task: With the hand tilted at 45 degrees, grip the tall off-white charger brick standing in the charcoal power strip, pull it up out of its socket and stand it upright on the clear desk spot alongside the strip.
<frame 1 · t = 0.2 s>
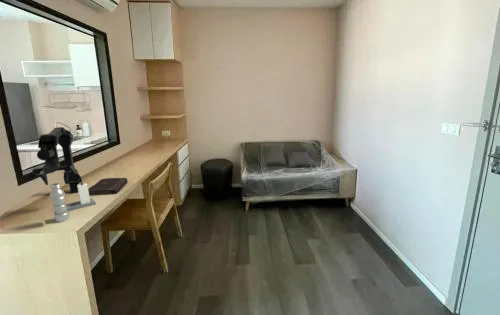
hand: (56, 184, 154), 14 cm above the table, tool pointing down, fingers open, 9 cm apart
plastic bottle: (62, 221, 140), on the table
charger: (85, 204, 159), point 1 cm above the table, touching power strip
diary: (108, 190, 186), on the table
power strip: (78, 207, 157), on the table
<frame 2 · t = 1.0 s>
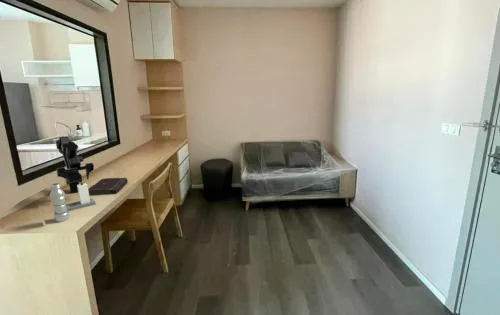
hand: (79, 181, 161), 13 cm above the table, tool tilted 45°, fingers open, 9 cm apart
nothing on the table moved.
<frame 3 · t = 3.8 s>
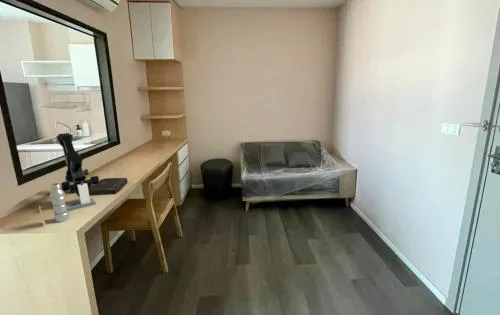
hand: (84, 195, 156), 7 cm above the table, tool tilted 45°, fingers closed on charger, 4 cm apart
charger: (85, 204, 159), point 1 cm above the table, touching gripper, power strip
everything else where it was.
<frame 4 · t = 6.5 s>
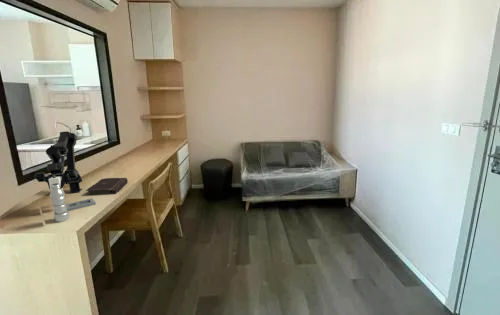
hand: (55, 189, 148), 13 cm above the table, tool tilted 45°, fingers closed on charger, 4 cm apart
charger: (58, 198, 151), point 7 cm above the table, touching gripper
everything else where it was.
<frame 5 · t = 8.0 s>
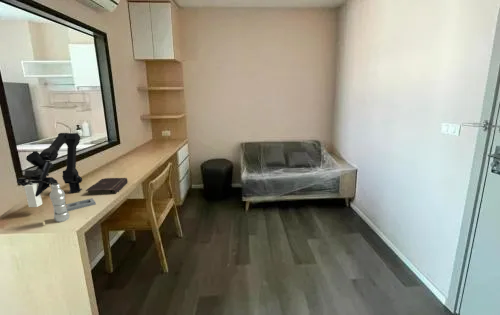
hand: (31, 196, 146), 11 cm above the table, tool tilted 45°, fingers closed on charger, 4 cm apart
charger: (35, 205, 149), point 5 cm above the table, touching gripper
everything else where it was.
when the fingers open (7 cm above the table, at t = 9.4 s): charger stays where it is, on the table.
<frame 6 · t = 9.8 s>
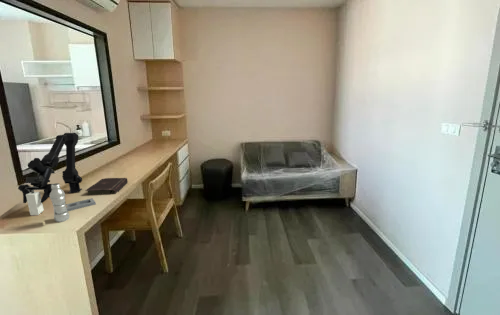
hand: (32, 202, 147), 7 cm above the table, tool tilted 45°, fingers open, 9 cm apart
charger: (37, 213, 150), on the table
everything else where it was.
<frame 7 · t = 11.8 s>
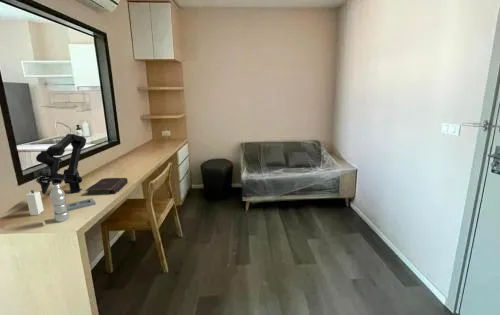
hand: (48, 192, 157), 8 cm above the table, tool tilted 30°, fingers open, 9 cm apart
nothing on the table moved.
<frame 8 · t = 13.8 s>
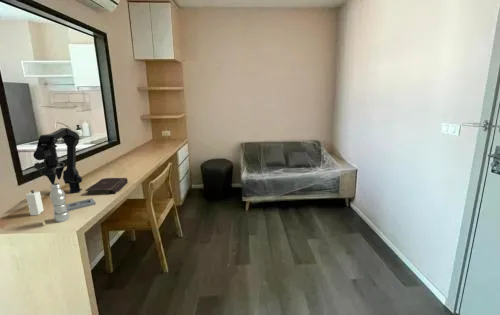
hand: (56, 181, 162), 13 cm above the table, tool pointing down, fingers open, 9 cm apart
nothing on the table moved.
at the end: charger inside the target area (0.0 cm from its centre), on the table; charger tilted 0°; charger touching table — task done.
